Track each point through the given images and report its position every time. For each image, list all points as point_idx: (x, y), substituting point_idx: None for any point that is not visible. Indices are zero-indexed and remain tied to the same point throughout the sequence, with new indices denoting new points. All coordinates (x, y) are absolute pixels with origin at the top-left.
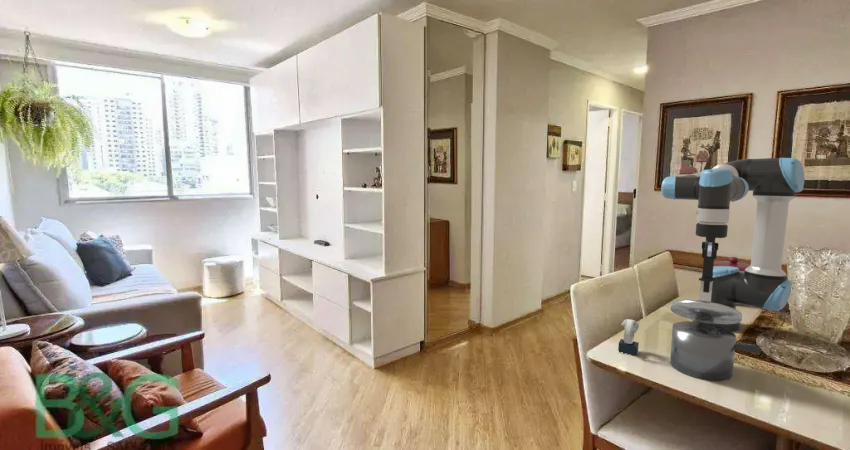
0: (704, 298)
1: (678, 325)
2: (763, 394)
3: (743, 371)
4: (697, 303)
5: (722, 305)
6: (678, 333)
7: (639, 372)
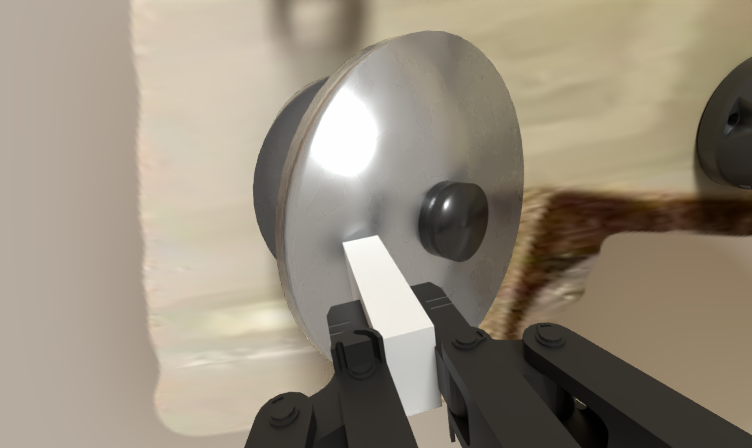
0: (351, 281)
1: None
2: None
3: None
4: (282, 245)
5: None
6: (279, 115)
7: (147, 5)
